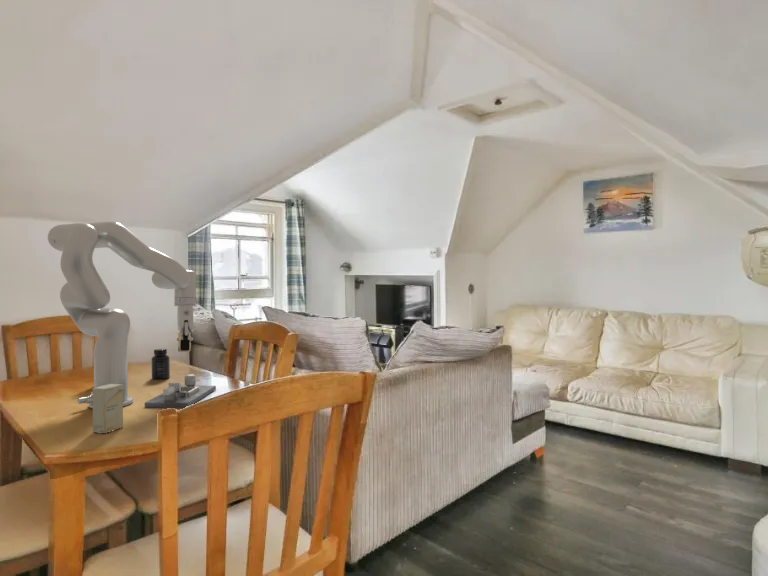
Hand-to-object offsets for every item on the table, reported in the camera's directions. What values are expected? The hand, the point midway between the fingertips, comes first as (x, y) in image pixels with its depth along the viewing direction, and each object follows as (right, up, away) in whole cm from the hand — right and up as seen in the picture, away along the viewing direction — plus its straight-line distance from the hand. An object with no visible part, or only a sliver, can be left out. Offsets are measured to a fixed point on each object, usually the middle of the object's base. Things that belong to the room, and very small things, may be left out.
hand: (184, 349), depth 182 cm
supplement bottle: (-15, -14, +14) cm, 25 cm away
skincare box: (+1, -16, -52) cm, 55 cm away
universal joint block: (0, -1, 0) cm, 1 cm away
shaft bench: (+7, -15, -18) cm, 24 cm away
